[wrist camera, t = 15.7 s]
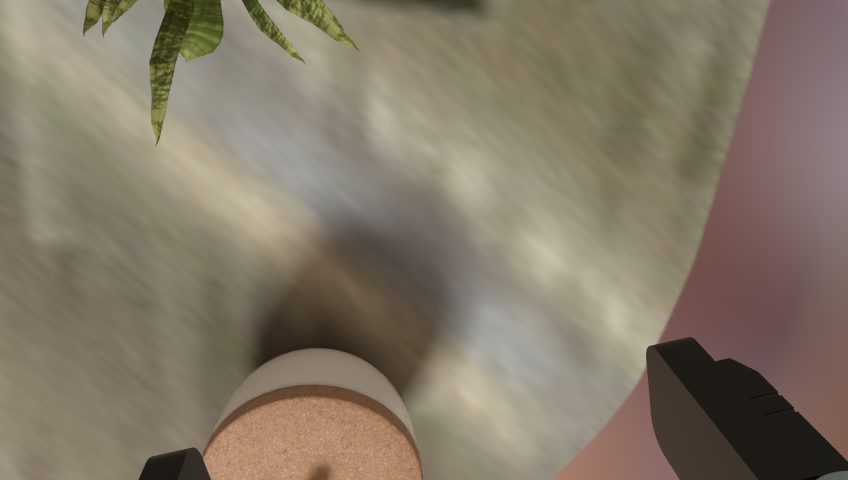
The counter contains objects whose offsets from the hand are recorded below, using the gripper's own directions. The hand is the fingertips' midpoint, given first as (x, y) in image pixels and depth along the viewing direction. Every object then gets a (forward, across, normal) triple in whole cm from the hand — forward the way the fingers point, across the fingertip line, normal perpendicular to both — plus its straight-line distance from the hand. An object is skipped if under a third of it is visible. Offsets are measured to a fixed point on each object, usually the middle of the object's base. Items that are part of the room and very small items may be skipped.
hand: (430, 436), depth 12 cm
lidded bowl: (+30, +8, +18) cm, 36 cm away
